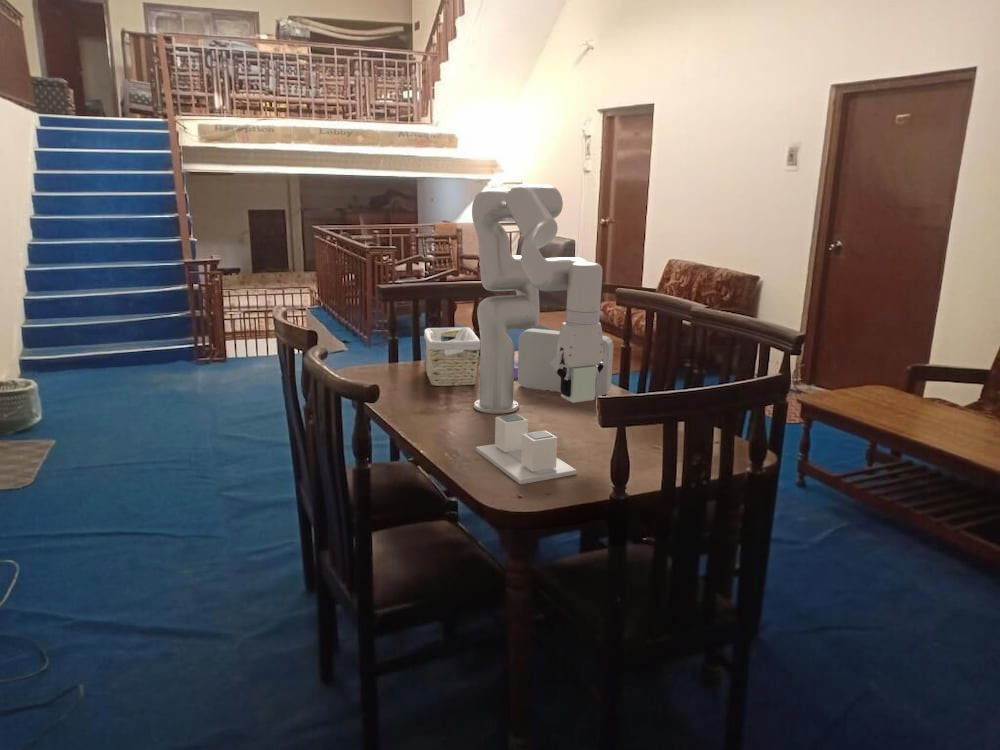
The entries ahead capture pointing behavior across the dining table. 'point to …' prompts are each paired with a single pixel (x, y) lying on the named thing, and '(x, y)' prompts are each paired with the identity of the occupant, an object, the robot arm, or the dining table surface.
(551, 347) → the rounded white slab
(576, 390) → the block
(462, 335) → the storage basket
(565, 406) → the dining table surface
